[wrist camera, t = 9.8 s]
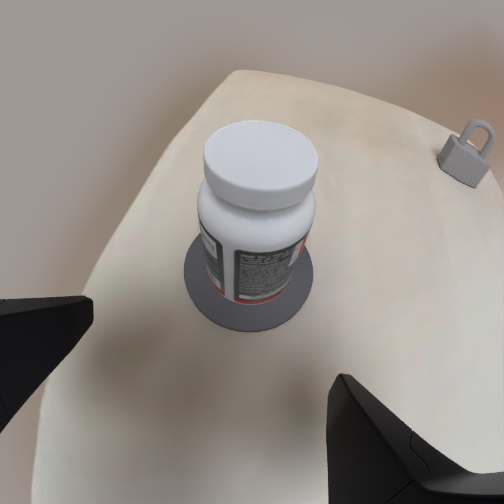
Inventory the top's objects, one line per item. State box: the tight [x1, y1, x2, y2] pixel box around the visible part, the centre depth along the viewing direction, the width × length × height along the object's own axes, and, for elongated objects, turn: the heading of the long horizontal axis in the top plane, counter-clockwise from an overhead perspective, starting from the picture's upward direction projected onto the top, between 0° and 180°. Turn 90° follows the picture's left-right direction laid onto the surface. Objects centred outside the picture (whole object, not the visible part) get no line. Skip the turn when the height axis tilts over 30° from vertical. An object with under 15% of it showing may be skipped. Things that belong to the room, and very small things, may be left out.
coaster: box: [184, 233, 313, 332], centre depth 19 cm, size 9×9×1 cm
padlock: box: [437, 119, 496, 188], centre depth 25 cm, size 7×4×10 cm, turn 71°
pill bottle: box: [197, 120, 319, 305], centre depth 14 cm, size 6×6×10 cm
